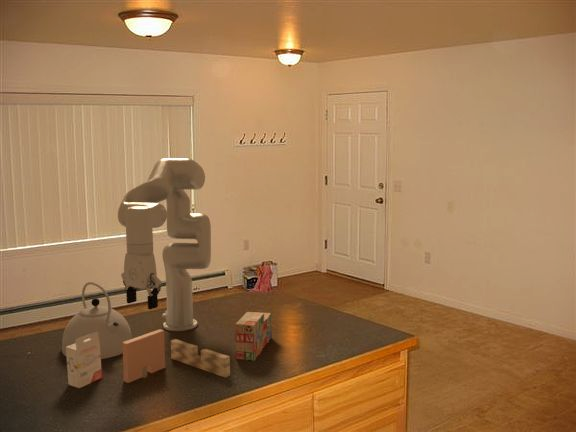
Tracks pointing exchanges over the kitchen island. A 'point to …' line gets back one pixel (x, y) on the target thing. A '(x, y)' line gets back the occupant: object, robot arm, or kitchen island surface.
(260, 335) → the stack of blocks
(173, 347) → the oak notched board
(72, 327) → the kettle
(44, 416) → the kitchen island surface
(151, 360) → the terracotta slotted plate
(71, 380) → the ink cartridge box
